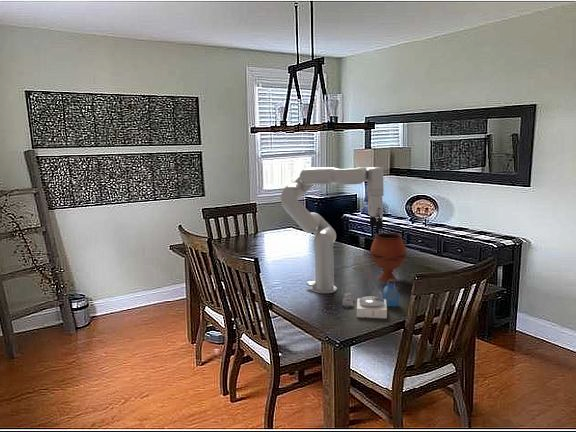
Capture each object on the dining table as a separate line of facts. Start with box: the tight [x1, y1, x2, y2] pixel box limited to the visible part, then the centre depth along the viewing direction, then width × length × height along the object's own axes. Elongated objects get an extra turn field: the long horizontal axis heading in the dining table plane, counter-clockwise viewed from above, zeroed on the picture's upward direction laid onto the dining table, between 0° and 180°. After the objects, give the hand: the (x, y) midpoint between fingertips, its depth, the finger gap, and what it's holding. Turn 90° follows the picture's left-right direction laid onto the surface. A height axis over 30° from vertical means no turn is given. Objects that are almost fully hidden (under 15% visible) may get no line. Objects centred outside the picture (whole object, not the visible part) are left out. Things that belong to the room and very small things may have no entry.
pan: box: [359, 295, 384, 307], centre depth 212 cm, size 11×11×1 cm
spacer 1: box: [342, 292, 355, 302], centre depth 228 cm, size 5×5×3 cm
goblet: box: [369, 232, 407, 282], centre depth 258 cm, size 19×19×25 cm
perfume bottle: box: [382, 279, 400, 307], centre depth 221 cm, size 6×6×12 cm
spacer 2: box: [342, 298, 354, 308], centre depth 221 cm, size 5×5×3 cm
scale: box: [356, 297, 388, 319], centre depth 212 cm, size 13×14×4 cm
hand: (376, 227), depth 231 cm, fingers open, 9 cm apart
